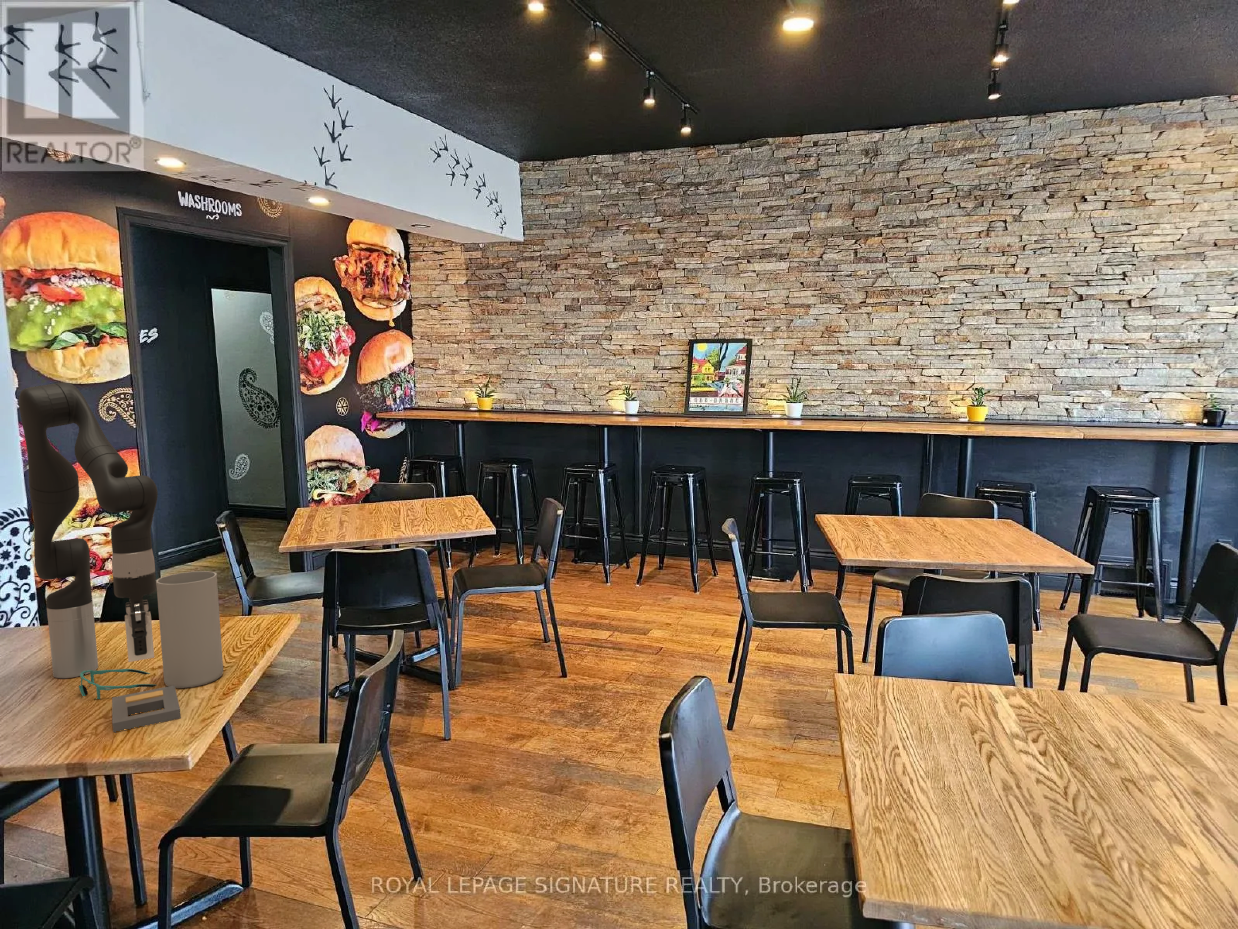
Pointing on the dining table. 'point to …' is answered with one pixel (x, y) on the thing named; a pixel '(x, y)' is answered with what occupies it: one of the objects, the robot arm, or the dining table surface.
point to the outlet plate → (145, 708)
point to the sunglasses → (98, 687)
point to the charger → (131, 641)
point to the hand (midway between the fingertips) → (140, 651)
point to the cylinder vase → (190, 628)
